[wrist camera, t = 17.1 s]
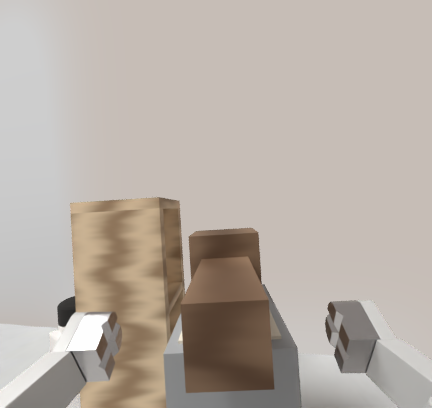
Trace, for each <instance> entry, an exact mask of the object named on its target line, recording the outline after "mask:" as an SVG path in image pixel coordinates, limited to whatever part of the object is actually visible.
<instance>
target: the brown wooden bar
mask: <svg viewBox="0 0 432 408" xmlns="http://www.w3.org/2000/svg"><path fill="white" fill-rule="evenodd" d="M189 249H190V265H191V283H190V285H189V287H188V289H187V292H186V294H185V296H184V298H183V300H182V302H181V321H182V338H183V355H184V372H185V389H186V393H202V392H226V391H251V390H275V388H274V373H273V357H272V342H271V327H270V311H269V299H268V297H267V295H266V293H265V291H264V289H263V287H262V283H261V267H260V252H259V237H258V232H257V231H255V230H254V229H253V228H241V229H224V230H208V231H196V232H194V233H193V234H192V235H190V236H189Z"/></svg>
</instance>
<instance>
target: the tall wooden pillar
mask: <svg viewBox="0 0 432 408" xmlns="http://www.w3.org/2000/svg"><path fill="white" fill-rule="evenodd" d="M70 207H71V226H72V246H73V265H74V285H75V304H76V312H116V315H117V317H118V318H117V321H116V323H118V324H119V325H120V326H121V329H122V343H121V347H120V350H119V352H118V353H117V354H116V355H115V356H114V357H113V358H114V361H115V365H114V368H113V371H112V374H111V377H110V380H109V381H99V382H86V385H85V386H84V387H83V388H82V389H81V391H80V401H81V408H166V391H165V374H164V356H163V354H164V351H165V349H166V347H167V344H168V342H169V340H170V337H171V335H172V333H173V330H174V328H175V326H176V323H177V321H178V318H179V316H180V314H181V302H182V300H183V298H184V296H185V288H184V273H183V272H184V271H183V254H182V237H181V220H180V204H179V201H177V200H171V199H165V198H159V197H157V198H141V199H126V200H110V201H95V202H80V203H70Z"/></svg>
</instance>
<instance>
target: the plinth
mask: <svg viewBox="0 0 432 408" xmlns="http://www.w3.org/2000/svg"><path fill="white" fill-rule="evenodd" d="M262 287H263V289H264V291H265V293H266V295H267V297H268V299H269V311H270V327H271V342H272V357H273V373H274V388H275V390H251V391H226V392H202V393H186V389H185V372H184V355H183V338H182V321H181V314H180V316H179V318H178V321H177V323H176V326H175V328H174V330H173V333H172V335H171V337H170V340H169V342H168V344H167V347H166V349H165V351H164V354H163V356H164V374H165V391H166V408H301V394H300V379H299V365H298V350H297V346H296V344H295V342H294V340H293V338H292V337H291V335H290V333H289V331H288V329H287V327H286V325H285V323H284V321H283V319H282V317H281V315H280V313H279V312H278V310H277V308H276V306H275V304H274V302H273V300H272V298H271V296H270V294H269V292H268V291H267V289H266V287H265V285H262Z"/></svg>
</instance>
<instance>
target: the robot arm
mask: <svg viewBox="0 0 432 408" xmlns="http://www.w3.org/2000/svg"><path fill="white" fill-rule="evenodd" d="M328 311H329V315H328V316H327V317H326V322H325V325H326V333H327V337H328V340H329V342H330V344H331V345H332V346H333V347H335V348H336V349H335V354H334V356H335V358H336V361H337V363H338V366H339V369H340V371H341V373H366V375H367V376H368V377H369V378H370V379H371V380H372V381H373V382H374V383H375V384H376V385H377V386H378V387H379V388H380V389H381V390H382V391H383V392H384V393H385V394H386V395H387V396H388V397H389V398H390V399H391V400H392V401H393V402H394V403H395V404H396V405H397V406H398V407H399V408H432V360H431V359H430V358H429V357H427V356H426V355H424V354H423V353H421V352H420V351H419V350H417V349H416V348H414V347H413V346H411V345H410V344H408V343H407V342H406V341H404V340H403V339H397V337H396V336H395V334H394V333H393V331H392V329H391V328H390V326H389V325H388V323H387V321H386V320H385V318H384V317H383V316H382V313H381V312H380V310H379V309H378V307H377V306H376V304H375V302H373V301H372V300H359V301H337V302H330V303H329V304H328ZM117 318H118V317H117V315H116V312H75V313H74V314H73V315H72V316H71V318H70V319H69V321H68V323H67V325H66V327H65V328H64V330H63V332H62V334H61V336H60V337H59V339H58V341H57V343H56V345H55V346H54V348H53V350H52V352H47V353H46V354H45V355H43V356H42V357H41V358H40V359H38V360H37V361H36V362H35V363H33V364H32V365H31V366H30V367H28V368H27V369H26V370H25V371H24V372H22V373H21V374H20V375H19V376H17V377H16V378H15V379H14V380H12V381H11V382H10V383H9V384H7V385H6V386H5V387H4V388H2V389H1V390H0V408H66V407H67V406H68V405H69V403H70V402H71V401H72V400H73V399H74V398H75V396H76V395H77V394H78V393H79V392H80V391H81V389H82V388H83V387H84V386H85V385H86V382H99V381H109V380H110V377H111V374H112V371H113V368H114V365H115V361H114V358H113V357H114V356H115V355H116V354H117V353H118V352H119V350H120V347H121V343H122V329H121V326H120V325H119V324H118V323H116V321H117Z"/></svg>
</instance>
